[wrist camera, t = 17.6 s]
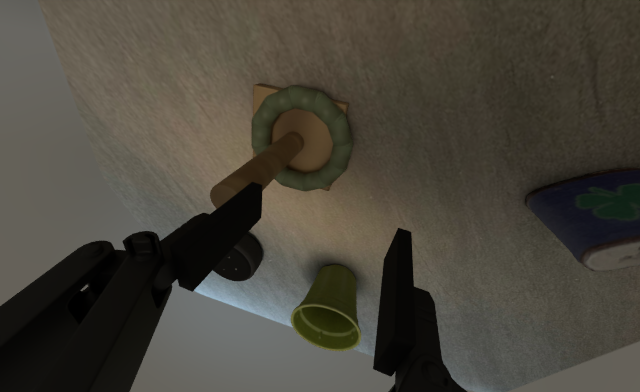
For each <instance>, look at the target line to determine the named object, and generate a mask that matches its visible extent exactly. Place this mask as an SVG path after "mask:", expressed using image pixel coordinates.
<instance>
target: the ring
mask: <svg viewBox="0 0 640 392" xmlns="http://www.w3.org/2000/svg"><path fill="white" fill-rule="evenodd" d="M294 108H296V109H300V110H304V111H309V112H313V113H314V114H315V115H316V116H317V117H318V118H319V119H320V120H321V121H322V122H323V123H324V124H325V125H327V127H328V130H329V133H330V136H331V139H332V142H333V147H332V152H331V156H330V160H329V161H328V162H327V163H326V164H325V165H324V166H323V167H322V169H321V170H320V171H316V172H311V173H307V174H304V173H300V172H296V171H293V170H290V169H288V168H287V167H285V168H284V169H283V170H282V171H281V172H280V173H279V174H278V175H277V176H276V177H275V178H274V179H275V180H276V181H277V182H279V183H280V184H281V185H283V186H287V187H290V188H294V189H297V190H301V191H311V190H315V189H320V188H325V187H328V186H330V185H331V184H332V183H333V182H334V181H335V180H336V179H337V178H338V177H339V176H340V175H341V174H342V173H343V172H345V171H346V169H347V166H348V162H349V159H350V155H351V151H352V147H353V139H352V136H351V132H350V129H349V126H348V122H347V119H346V115H345V114H344V112H343V111H342V110H341V109H340V108H339V107H338V106H337V105H336V104H335V103H333V102H332V101H331V100H330V99H329V98H328V97H327V96H326V95H325V94H324V93H323V92H321V91H317V90H312V89H308V88H303V87H299V86H289V87H287V88H284V89H282V90H279V91H277V92H275V93H272V94H270V95H268V96H266V97H265V99H264V100H263V102H262V104H261V105H260V107H259V108H258V110H257V112H256V113H255V115H254V116H253V118H252V148H253V150H254V152H255V154H256V156H257V155H258V154H259V153H261V152H262V151H263V150H265V149H266V148H268V147H269V146H270V145H271V144H270V135H271V126H272V124H273V123H274V121H275V120H276V119H277V117H278V116H279V114H281V113H283V112H286V111H289V110H292V109H294Z"/></svg>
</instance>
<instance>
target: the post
mask: <svg viewBox="0 0 640 392" xmlns="http://www.w3.org/2000/svg"><path fill="white" fill-rule="evenodd" d="M282 89H283V88H278V87H274V86H269V85H265V84H255V85H254V86H253V116H254V115H255V113H256V112H257V110H258V108H259V107H260V105H261V104H262V102H263V100H264V99H265V97H266V96H268V95H270V94H272V93H275V92H277V91H279V90H282ZM330 100H331V101H332V102H333V103H335V104H336V105H337V106H338V107H339V108H340V109H341V110H342V111H343V112H344V114H345V115H346V116H347V111H348V107H349V103H346V102H342V101H337V100H333V99H330ZM270 144H271V145H270V146H269V147H268V148H266V149H265V150H263V151H262V152H261V153H259V154H258V155H257V156H256V154H255V152H254V150H253V159H251V160H250V161H248V162H247V163H246V164H244V165H243V166H242V167H240V168H239V169H237V170H236V171H235V172H233V173H232V174H231V175H229V176H228V177H226V178H225V179H224V180H222V181H221V182H220V183H218V184H217V185H215V186H214V187H213V188H212V190H211V192H210V197H211V201H212V203H213V205H214V206H215V207H216V208H217V209H218V208H219V207H220V206H221V205H223V204H224V203H225V202H227V201H228V200H229V199H231V198H232V197H233V196H234V195H236V194H237V193H238V192H240V191H241V190H242V189H243V188H245V187H246V186H247V185H249V184H250V183H251V182H255V183H258V184H261V185H262V191H263V190H264V189H265V188H266V186H267V185H268V184H269V183H270V182H271V181H272V180H273V179H274V178H275V177H276V176H277V175H278V174H279V173H280V172H281V171H282V170H283V169H284V168H285V167H287V168H288V169H290V170H293V171H296V172H300V173H304V174H307V173H311V172H316V171H320V170H321V169H322V167H323V166H324V165H325V164H326V163H327V162H328V161H329V160H330V156H331V152H332V147H333V142H332V139H331V136H330V133H329V130H328V127H327V125H325V124H324V123H323V122H322V121H321V120H320V119H319V118H318V117H317V116H316V115H315V114H314V113H313V112H309V111H304V110H300V109H296V108H294V109H292V110H289V111H286V112H283V113H281V114H279V116H278V117H277V119H276V120H275V121H274V123H273V124H272V126H271V135H270ZM331 185H332V184H331ZM331 185H330V186H328V187H325V188H320V189H323V190H327V191H329V190H330V188H331Z"/></svg>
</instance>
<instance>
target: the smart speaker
mask: <svg viewBox="0 0 640 392" xmlns="http://www.w3.org/2000/svg"><path fill="white" fill-rule="evenodd" d="M261 261H262V252H261V249H260V247H259V245H258V244H257V242H256V241H255V240H254V239H253V238H252V237H251V236H250V235H248V234H247V233H246V235H245V236H244V237H243V238H242V239H241V240H240V241H239V242H238V243H237V244H236V245H235V246H234V247H233V249H232V250H231V251H230V252H229V253H228V254H227V255H226V256H225V257H224V258H223V259H222V260H221V261H220V263H219V264H218V265H217V266H216V267H215V268H214V269H213V271H215V272H216V273H217V274H219V275H220V276H222V277H224V278H226V279H229V280H232V281H244V280H247V279H249V278H251V277H252V276H253V275H254V273H255V271H256V270H257V268H258V267H259V265H260V263H261Z"/></svg>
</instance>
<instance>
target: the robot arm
mask: <svg viewBox="0 0 640 392" xmlns="http://www.w3.org/2000/svg"><path fill="white" fill-rule="evenodd" d="M261 211H262V185H261V184H258V183H255V182H251V183H250V184H249V185H247V186H246V187H245V188H243V189H242V190H241V191H240V192H238V193H237V194H236V195H234V196H233V197H232V198H231V199H229V200H228V201H227V202H225V203H224V204H223V205H221V206H220V207H219V208H218V209H216V210H215V211H214V212H212V213H211V214H210V215H209V214H207V213H202V214H199V215H197V216H194V217H193V218H191V219H190V220H189V221H187V223H185V224H183V225H182V226H181V227H180V228H178V229H176V230H175V231H174V232H172V233H171V234H169V235H168V236H167V237H165V238H164V239H163V240H161V241H160V240H159V237H158V235H157V234H156V233H154V232H150V231H143V232H138V233H134V234H132V235H130V236H128V237H127V238H126V239H125V240H123V244H124V246H125V249H126V250H114V247H113V245H112V244H111V243H110V242H108V241H95V242H91V243H88V244H86V245H83V246H82V247H80V248H78V249H77V250H76V251H74V252H73V253H71V254H70V255H69V256H67V257H66V258H65V259H63V260H62V261H61V262H59V263H58V264H57V265H55V266H54V267H53V268H51V269H50V270H49V271H47V272H46V273H45V274H43V275H42V276H40V277H39V278H38V279H36V280H35V281H34V282H32V283H31V284H30V285H28V286H27V287H26V288H24V289H23V290H22V291H20V292H19V293H17V294H16V295H15V296H13V297H12V298H11V299H10V300H8V301H7V302H5V303H4V304H3V305H2V306H0V392H129V391H130V389H131V387H132V384H133V382H134V379H135V377H136V375H137V372H138V370H139V367H140V365H141V363H142V360H143V358H144V356H145V353H146V351H147V348H148V346H149V344H150V341H151V339H152V336H153V334H154V332H155V329H156V327H157V324H158V322H159V319H160V317H161V315H162V312H163V310H164V307H165V305H166V303H167V300H168V298H169V296H170V293H171V291H172V283H173V282H174V281H175V280H176V279H178V283H179V286H180V287H183V288H185V289H187V290H190V291H194V289H195V288H196V287H197V286H198V285H199V284H200V283H201V282H202V281H203V280H204V279H205V278H206V277H207V275H208V274H209V273H210V272H211V271H212V270H213V269H214V268H215V267H216V266H217V265H218V264H219V263H220V261H221V260H222V259H223V258H224V257H225V256H226V255H227V254H228V253H229V252H230V251H231V250H232V249H233V247H234V246H235V245H236V244H237V243H238V242H239V241H240V240H241V239H242V238H243V237H244V236H245V235H246V233H247V232H248V231H249V230H250V229H251V228H252V227H253V226H254V225H255V224H256V223H257V222H258V221H259V219H260V218H261ZM85 285H88V287H87V288H86V289H85V290H83V291H80V290H81V289H82V288H83V287H84V286H85ZM373 369H374V370H377V371H379V372H381V373H384V374H386V375H388V376H392V375H393V374H394V372H395V371H396V375H395V384H394V386H393V387H392V388H391V389H390V391H389V392H467V391H466V390H464V389H463V388H462V387H460V386H459V385H458V384H457V383H456V382H455V381H454V380H453V379H452V378H451V375H450V373H449V371H448V370H447V368H446V366H445V365H444V364H443V361H442V356H441V349H440V341H439V333H438V326H437V318H436V310H435V303H434V301H433V299H432V297H431V295H430V293H429V292H428V291H425V290H422V289H419V288H416V287H414V281H413V260H412V238H411V232H410V231H407V230H404V229H400V228H398V230H397V232H396V234H395V236H394V239H393V241H392V243H391V245H390V248H389V250H388V252H387V254H386V256H385V259H384V266H383V276H382V286H381V296H380V306H379V316H378V326H377V336H376V346H375V356H374V366H373Z"/></svg>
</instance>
